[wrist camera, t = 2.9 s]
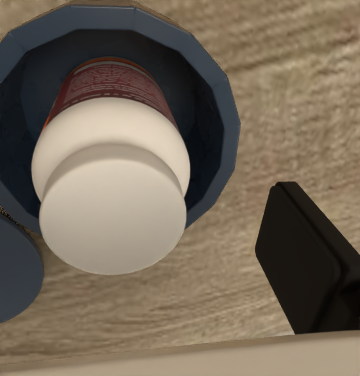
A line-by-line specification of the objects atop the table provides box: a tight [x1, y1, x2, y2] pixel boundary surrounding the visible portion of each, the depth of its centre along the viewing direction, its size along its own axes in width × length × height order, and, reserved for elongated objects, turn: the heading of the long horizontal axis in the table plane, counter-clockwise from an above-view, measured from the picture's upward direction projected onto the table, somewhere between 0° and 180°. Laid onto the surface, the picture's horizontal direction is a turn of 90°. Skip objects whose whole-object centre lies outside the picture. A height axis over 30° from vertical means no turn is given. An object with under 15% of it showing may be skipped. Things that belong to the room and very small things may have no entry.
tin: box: [0, 0, 241, 236], centre depth 17 cm, size 12×12×6 cm
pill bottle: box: [32, 56, 190, 275], centre depth 15 cm, size 6×6×11 cm
